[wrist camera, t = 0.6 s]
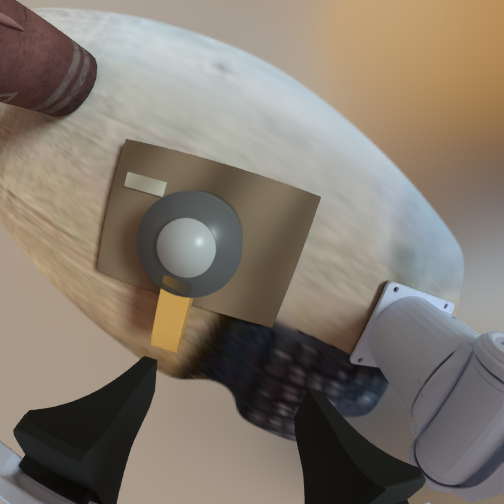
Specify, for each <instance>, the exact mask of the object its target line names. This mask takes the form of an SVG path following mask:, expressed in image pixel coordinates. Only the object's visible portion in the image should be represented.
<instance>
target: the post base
mask: <svg viewBox="0 0 504 504" xmlns="http://www.w3.org/2000/svg"><path fill="white" fill-rule="evenodd" d="M192 190H202V191H208V192H211V193H214V194H216V195H218V196H220V197H222V198H223V199H224V200H226V201H227V202H228V203H229V204H230V205H231V206H232V207H233V209H234V210H235V212H236V213H237V215H238V217H239V219H240V222H241V226H242V232H243V245H242V257H241V261H240V264H239V266H238V269H237V271H236V273H235V274H234V276H233V277H232V279H231V280H230V281H229V282H228V283H227V284H226V285H225V286H224V287H222V288H221V289H220V290H218V291H216V292H215V293H212V294H210V295H207V296H203V297H197V298H193V302H192V305H194V306H198V307H201V308H204V309H207V310H211V311H214V312H217V313H221V314H224V315H228V316H231V317H235V318H238V319H242V320H245V321H249V322H253V323H257V324H260V325H264V326H268V327H273V324H274V322H275V319H276V317H277V314H278V312H279V309H280V307H281V304H282V302H283V299H284V297H285V294H286V292H287V289H288V286H289V284H290V281H291V279H292V276H293V273H294V271H295V268H296V266H297V263H298V260H299V257H300V255H301V252H302V249H303V247H304V244H305V241H306V238H307V236H308V233H309V230H310V227H311V224H312V222H313V219H314V216H315V213H316V210H317V207H318V204H319V201H320V198H321V197H320V196H317V195H315V194H312V193H309V192H307V191H304V190H301V189H298V188H296V187H293V186H290V185H287V184H284V183H281V182H279V181H276V180H273V179H270V178H267V177H264V176H261V175H258V174H255V173H251V172H248V171H245V170H242V169H239V168H236V167H232V166H229V165H226V164H222V163H219V162H216V161H212V160H209V159H205V158H201V157H198V156H194V155H191V154H187V153H183V152H179V151H175V150H171V149H167V148H163V147H159V146H155V145H151V144H146V143H142V142H138V141H133V140H128V139H126V141H125V144H124V147H123V150H122V153H121V157H120V160H119V164H118V167H117V171H116V175H115V178H114V182H113V186H112V190H111V195H110V199H109V203H108V208H107V213H106V218H105V223H104V228H103V234H102V239H101V246H100V252H99V259H98V266H97V271H98V272H101V273H103V274H106V275H108V276H111V277H114V278H116V279H119V280H122V281H124V282H127V283H130V284H132V285H135V286H138V287H141V288H143V289H146V290H149V291H152V292H155V293H158V294H160V290H161V288H160V287H159V286H157V285H156V284H155V283H154V282H153V281H152V280H151V279H150V278H149V277H148V275H147V274H146V272H145V271H144V269H143V267H142V265H141V263H140V260H139V256H138V252H137V233H138V229H139V225H140V223H141V220H142V218H143V217H144V215H145V213H146V212H147V211H148V209H149V208H150V207H151V206H152V205H153V204H154V203H155V202H157V201H158V200H159V199H161V198H163V197H165V196H167V195H169V194H172V193H176V192H181V191H192Z"/></svg>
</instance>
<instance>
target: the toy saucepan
mask: <svg viewBox="0 0 504 504" xmlns="http://www.w3.org/2000/svg"><path fill="white" fill-rule="evenodd" d="M242 245H243V232H242V226H241V222H240V219H239V217H238V215H237V213H236V212H235V210H234V209H233V207H232V206H231V205H230V204H229V203H228V202H227V201H226V200H224V199H223V198H222V197H220V196H218V195H216V194H214V193H211V192H208V191H202V190H192V191H181V192H176V193H172V194H169V195H167V196H165V197H163V198H161V199H159V200H158V201H157V202H155V203H154V204H153V205H152V206H151V207H150V208H149V209H148V211H147V212H146V213H145V215H144V217H143V218H142V220H141V223H140V225H139V229H138V233H137V252H138V256H139V260H140V263H141V265H142V267H143V269H144V271H145V272H146V274H147V275H148V277H149V278H150V279H151V280H152V281H153V282H154V283H155V284H156V285H157V286H159V287H160V288H161V290H160V295H159V300H158V305H157V310H156V315H155V320H154V326H153V331H152V337H151V343H150V344H151V345H154V346H157V347H160V348H163V349H165V350H168V351H172V352H175V353H177V350H178V348H179V345H180V342H181V340H182V337H183V334H184V332H185V329H186V325H187V321H188V317H189V313H190V309H191V306H192V302H193V298H197V297H203V296H207V295H210V294H212V293H215V292H216V291H218V290H220V289H221V288H222V287H224V286H225V285H226V284H227V283H228V282H229V281H230V280H231V279H232V277H233V276H234V274H235V273H236V271H237V269H238V266H239V264H240V261H241V257H242Z"/></svg>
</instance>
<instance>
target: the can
mask: <svg viewBox="0 0 504 504" xmlns="http://www.w3.org/2000/svg"><path fill="white" fill-rule="evenodd" d="M96 74H97V63H96V60H95V58H94V57H93V56H92V55H91V54H90V53H89V52H88V51H87V50H85V49H84V48H83V47H81V46H80V45H79V44H77V43H76V42H75V41H73V40H72V39H71V38H69V37H68V36H67V35H65V34H64V33H63V32H61V31H60V30H58V29H57V28H56V27H54V26H53V25H51V24H50V23H49V22H47V21H46V20H44V19H43V18H41V17H40V16H39V15H37V14H36V13H34V12H33V11H31V10H30V9H28V8H27V7H25V6H24V5H22V4H21V3H19V2H18V1H16V0H0V102H2V103H6V104H10V105H14V106H18V107H22V108H26V109H30V110H34V111H37V112H41V113H44V114H48V115H51V116H62V115H64V114H67V113H69V112H71V111H73V110H74V109H75V108H77V107H78V106H79V105H81V104H82V102H83V101H84V100H85V99H86V98H87V97H88V95H89V93H90V92H91V90H92V88H93V86H94V83H95V80H96Z"/></svg>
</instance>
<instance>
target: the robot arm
mask: <svg viewBox="0 0 504 504" xmlns="http://www.w3.org/2000/svg"><path fill="white" fill-rule="evenodd" d="M395 287H397V288H396V290H395V291H394V288H395ZM444 305H445V306H444ZM454 307H455V305H454V303H452V302H450V301H447V300H444V299H442V298H439V297H436V296H433V295H430V294H427V293H425V292H422V291H419V290H416V289H413V288H410V287H407V286H405V285H402V284H399V283H396V282H393V281H389V282H388V283H387V284H386V285H385V287H384V290H383V292H382V294H381V296H380V299H379V301H378V303H377V305H376V307H375V309H374V311H373V314H372V316H371V318H370V320H369V322H368V324H367V326H366V328H365V330H364V332H363V334H362V336H361V337H360V339H359V341H358V343H357V345H356V347H355V349H354V351H353V352H352V354H351V356H350V362H351V363H353V364H358V365H365V366H372V367H379V369H380V370H381V372H382V373H383V374H384V376H385V377H386V379H387V380H388V382H389V383H390V385H391V386H392V388H393V389H394V391H395V392H396V394H397V395H398V397H399V398H400V400H401V401H402V403H403V404H404V406H405V407H406V409H407V410H408V412H409V413H410V415H411V417H412V418H413V422H412V424H411V426H410V427H409V429H410V431H411V433H412V434H413V436H414V438H415V440H414V441H413V442H412V444H411V446H410V449H409V464H408V463H405V462H403V461H401V460H399V459H397V458H395V457H392V456H391V455H389V454H387V453H385V452H384V451H382V450H381V449H379V448H377V447H376V446H375V445H373V444H372V443H370V442H369V441H368V440H367V439H365V438H364V437H363V436H362V435H361V434H359V433H358V432H357V431H356V430H355V429H354V428H353V427H352V426H351V425H350V424H349V423H348V422H347V421H346V420H345V419H344V418H343V417H342V415H341V414H340V413H339V412H338V411H337V410H336V409H335V407H334V406H333V405H332V404H331V403H330V402H329V400H328V399H327V398H326V397H325V396H324V394H323V393H322V392H321V391H320V390H309V389H308V391H307V393H306V395H305V397H304V399H303V401H302V403H301V405H300V407H299V409H298V411H297V412H296V414H295V416H294V421H295V435H296V440H297V445H298V450H299V454H300V460H301V464H302V469H303V477H304V496H305V504H409V503H408V500H407V499H408V498H410V497H411V496H412V495H413V494H414V493H416V492H417V491H418V490H419V489H420V488H422V487H423V485H425V486H426V487H428V488H430V489H432V490H435V491H439V492H446V493H452V494H455V495H457V496H459V497H461V498H463V499H464V500H466V501H467V502H474V501H479V500H484V499H487V498H491V497H494V496H498V495H501V494H504V332H501V331H490V332H488V333H486V334H482V335H479V334H478V333H476V332H475V331H474V330H472V329H471V328H470V327H468V326H467V325H466V324H464V323H463V322H462V321H460V320H459V319H457V318H456V317H455V316H453V315H452V312H453V310H454ZM360 358H361V359H360ZM358 359H360V360H358ZM156 370H157V360H156V359H153V358H149V357H146V356H144V357H142V358H141V359H140V360H139V361H138V362H137V363H136V364H135V365H133V366H132V367H131V368H130V369H128V371H126V372H125V373H123V374H122V375H121V376H119V377H118V378H116V379H115V380H113V381H112V382H110V383H109V384H108V385H106V386H104V387H102V388H101V389H99V390H97V391H95V392H93V393H91V394H89V395H87V396H85V397H83V398H80V399H78V400H75V401H73V402H69V403H66V404H63V405H59V406H56V407H51V408H45V409H37V410H29V411H28V412H27V413H26V414H25V415H24V416H23V418H22V419H21V420H20V422H19V423H18V424H17V426H16V427H15V428H14V430H13V432H14V436H15V438H16V440H17V442H18V443H19V445H20V446H21V448H22V450H23V451H24V453H25V456H24V458H23V459H22V458H21V457H20V456H19V455H18V454H17V453H15V452H14V451H12V450H11V449H10V448H9V447H7V446H6V445H5V444H4V443H2V442H1V441H0V499H1V500H2V501H3V502H4V503H5V504H117V499H118V494H119V490H120V486H121V482H122V478H123V474H124V470H125V467H126V463H127V460H128V456H129V453H130V450H131V447H132V444H133V442H134V440H135V437H136V435H137V433H138V431H139V429H140V427H141V425H142V422H143V420H144V418H145V416H146V414H147V412H148V410H149V407H150V404H151V401H152V398H153V395H154V392H155V382H156ZM425 504H430V503H429V502H427V503H425Z"/></svg>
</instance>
